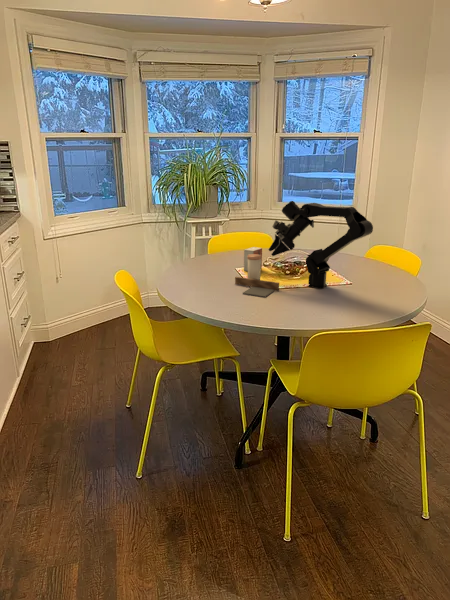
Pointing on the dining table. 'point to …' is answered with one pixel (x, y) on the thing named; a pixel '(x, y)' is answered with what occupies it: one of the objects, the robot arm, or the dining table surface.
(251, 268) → the canister
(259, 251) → the small box
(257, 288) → the mat
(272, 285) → the wall
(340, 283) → the dining table surface
